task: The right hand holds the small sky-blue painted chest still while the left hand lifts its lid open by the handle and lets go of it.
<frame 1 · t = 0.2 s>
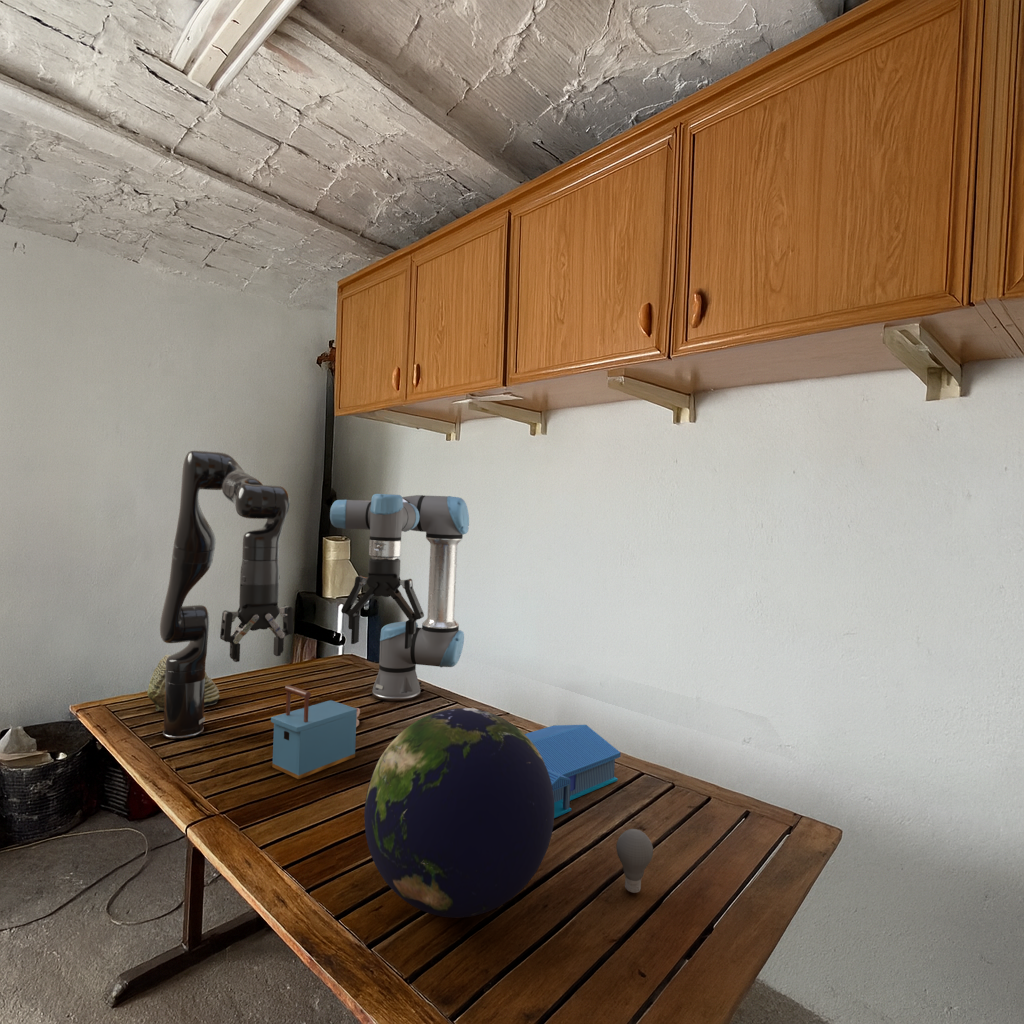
left hand: (256, 658, 132), 29 cm above the table, tool pointing down, fingers open, 8 cm apart
right hand: (381, 645, 153), 28 cm above the table, tool pointing down, fingers open, 13 cm apart
lid: (315, 700, 150), point 15 cm above the table, hinge at 0.0°
light bulb: (632, 891, 106), on the table
chest: (314, 761, 151), on the table
globe: (456, 900, 101), on the table
anatomical model: (333, 726, 174), on the table
model building: (530, 789, 141), on the table
fossil: (183, 706, 185), on the table
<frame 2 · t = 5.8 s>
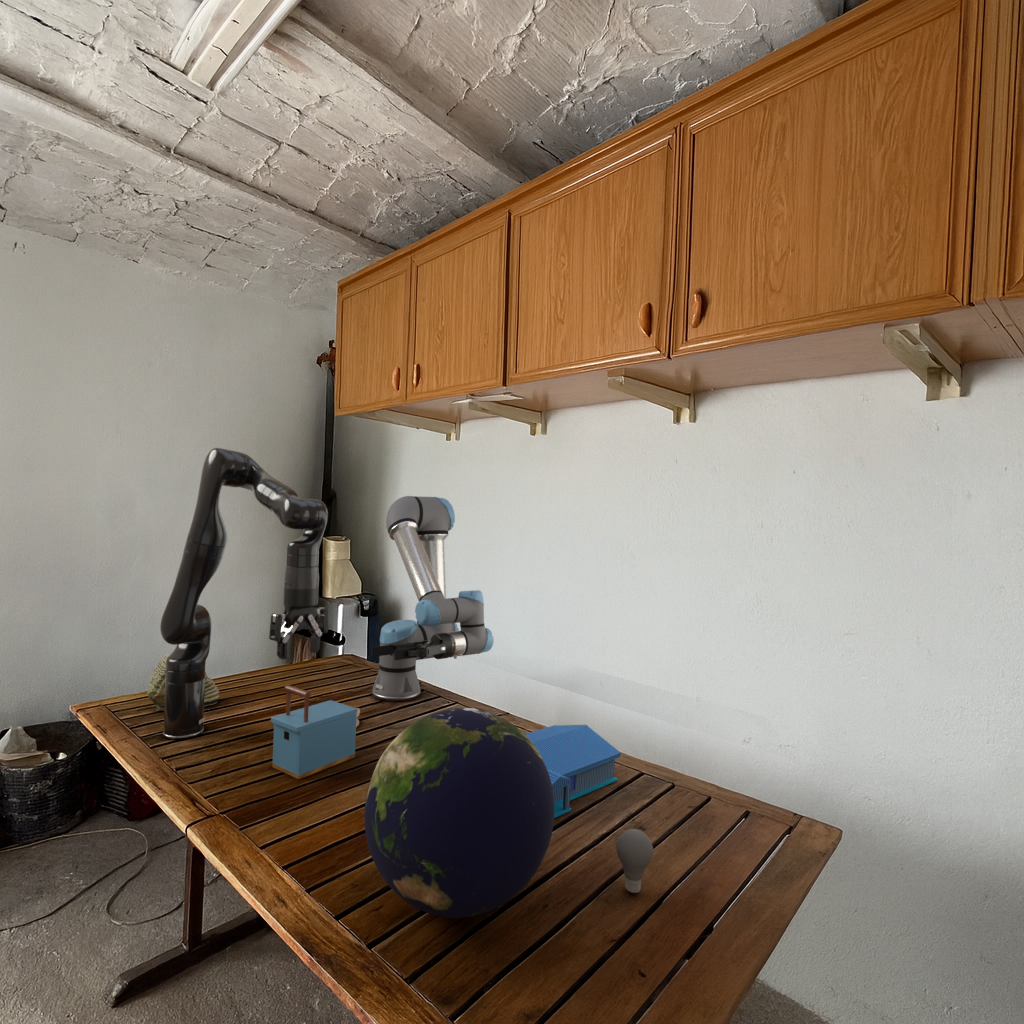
left hand: (298, 655, 146), 27 cm above the table, tool pointing down, fingers open, 8 cm apart
right hand: (382, 653, 175), 20 cm above the table, tool horizontal, fingers open, 13 cm apart
nothing on the table moved.
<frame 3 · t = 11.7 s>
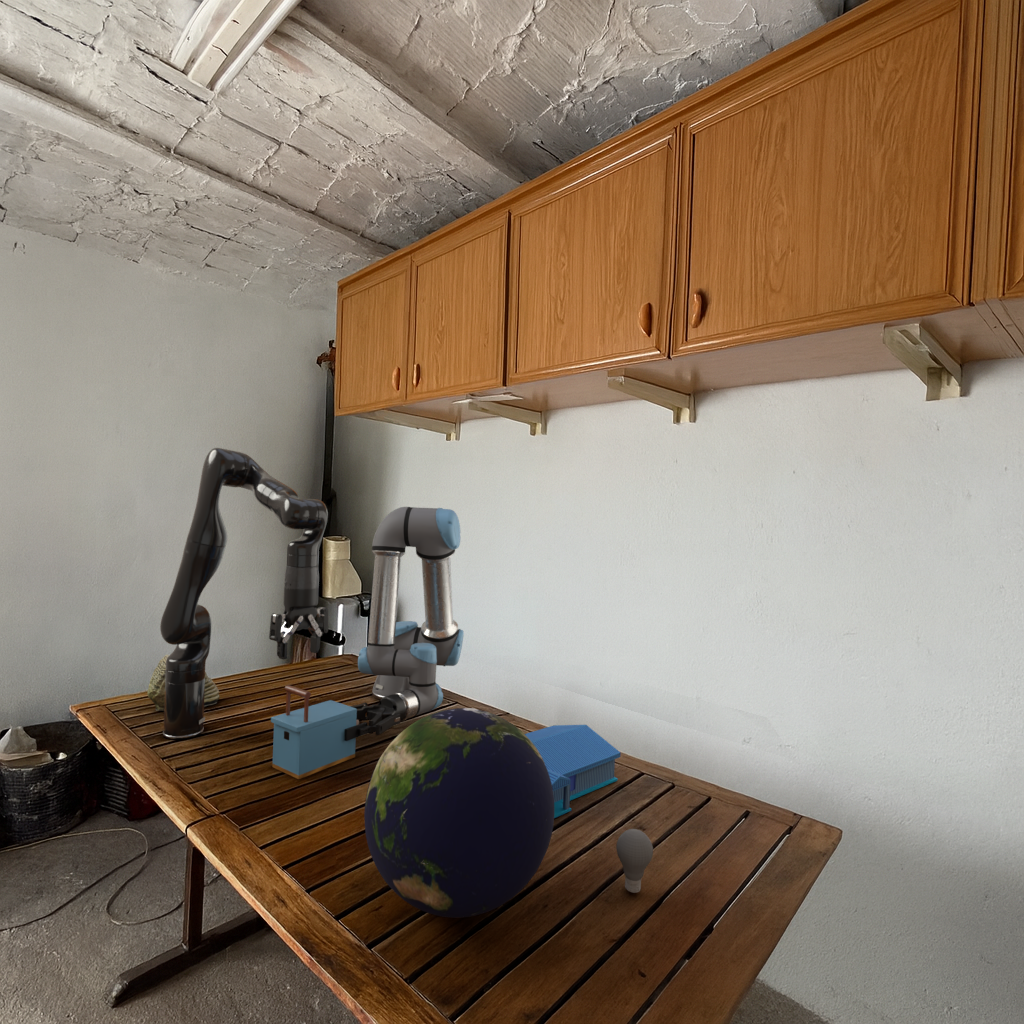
left hand: (298, 655, 146), 27 cm above the table, tool pointing down, fingers open, 8 cm apart
right hand: (331, 729, 154), 6 cm above the table, tool horizontal, fingers closed on chest, 10 cm apart
chest: (314, 761, 151), on the table, touching right hand
everything else where it was.
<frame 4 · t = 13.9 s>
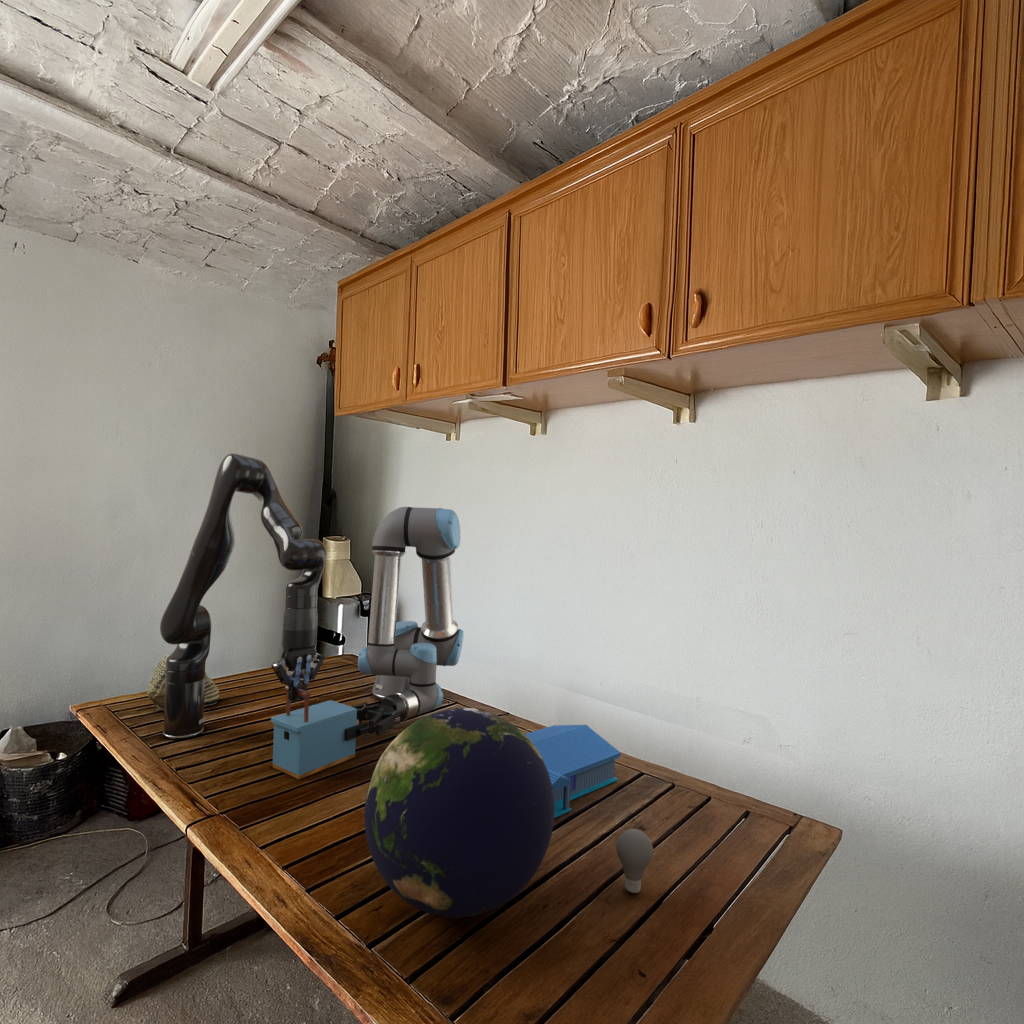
left hand: (297, 700, 146), 16 cm above the table, tool pointing down, fingers closed
right hand: (331, 729, 155), 6 cm above the table, tool horizontal, fingers closed on chest, 10 cm apart
lid: (315, 700, 150), point 15 cm above the table, hinge at -0.1°, touching left hand
chest: (314, 761, 151), on the table, touching right hand
everything else where it was.
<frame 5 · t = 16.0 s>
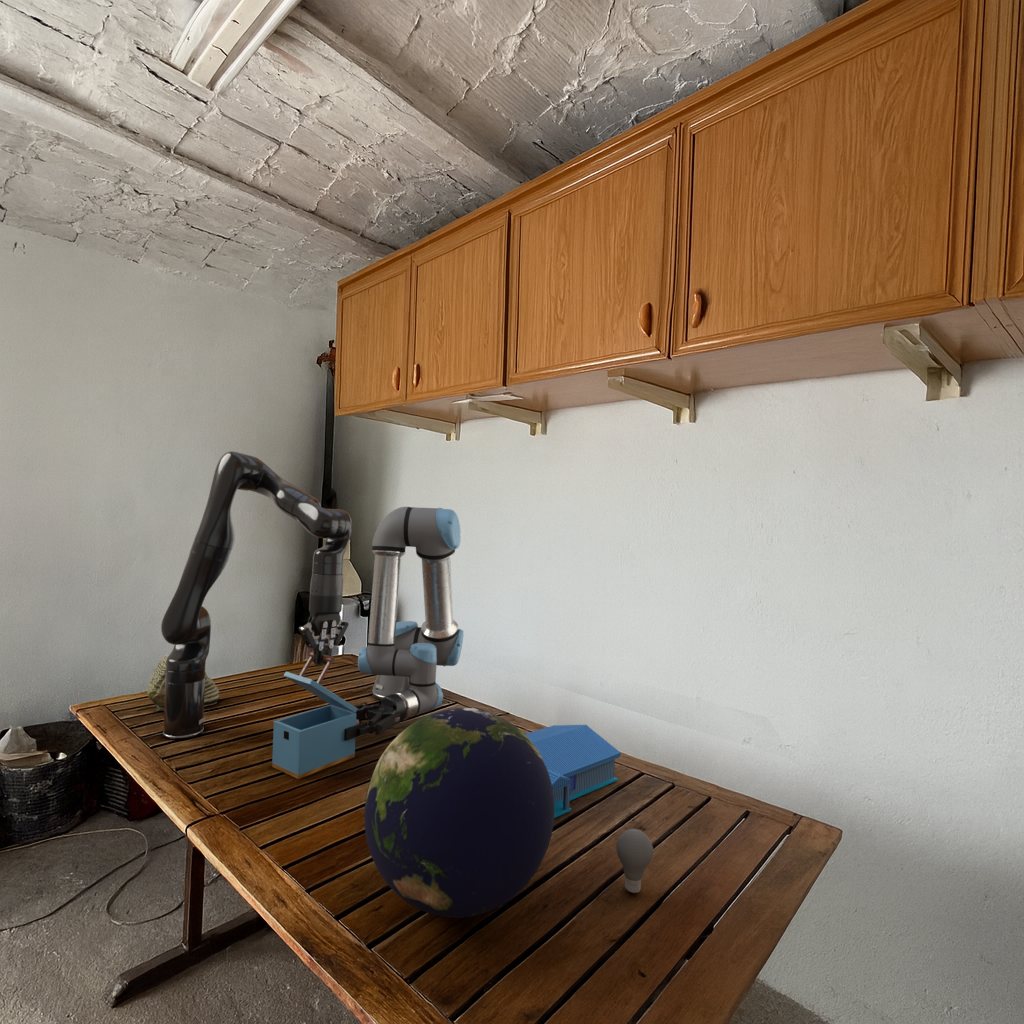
left hand: (322, 664, 151), 23 cm above the table, tool pointing down, fingers closed
right hand: (331, 729, 155), 7 cm above the table, tool horizontal, fingers closed on chest, 10 cm apart
lid: (328, 679, 153), point 19 cm above the table, hinge at 36.0°, touching left hand
chest: (314, 761, 151), on the table, touching right hand
everything else where it was.
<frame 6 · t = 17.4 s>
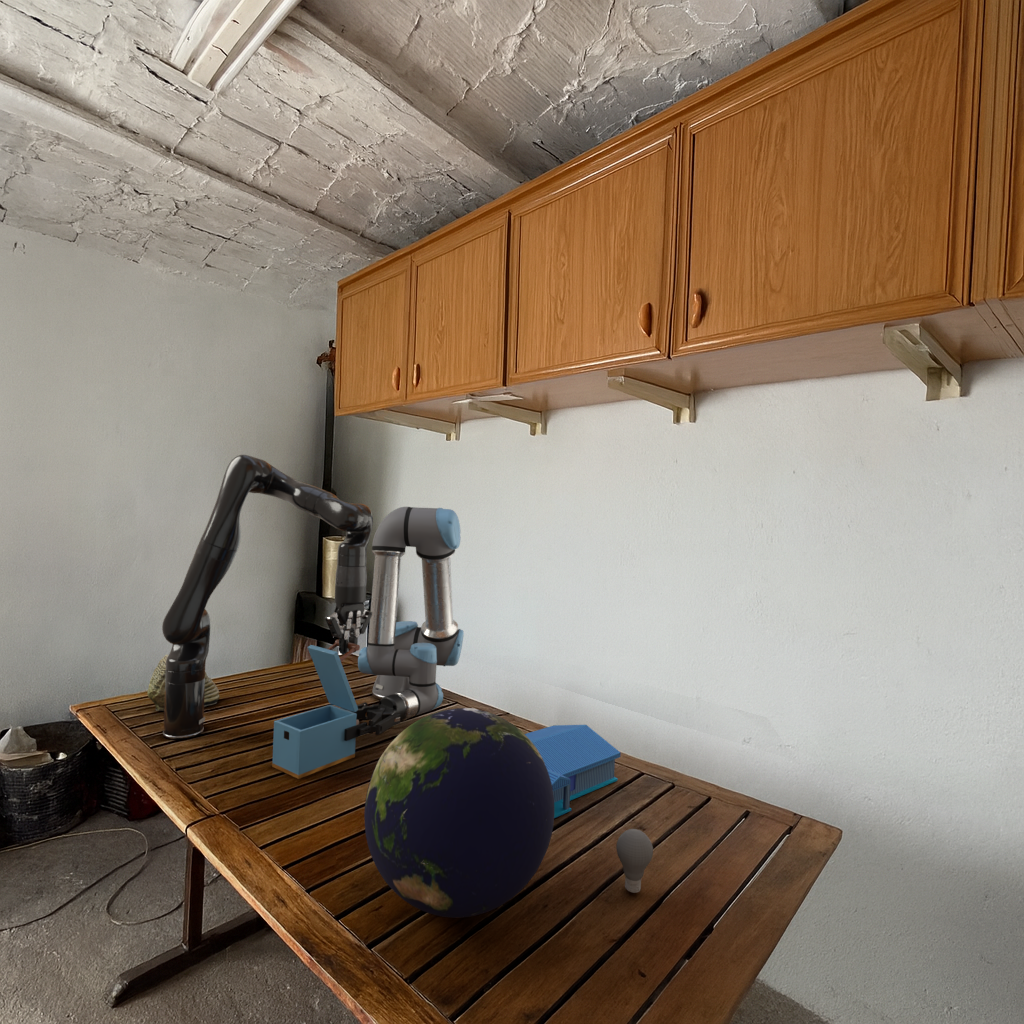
left hand: (347, 652, 158), 25 cm above the table, tool pointing down, fingers closed
right hand: (331, 729, 155), 6 cm above the table, tool horizontal, fingers closed on chest, 10 cm apart
lid: (343, 669, 157), point 21 cm above the table, hinge at 64.8°, touching left hand
chest: (314, 761, 151), on the table, touching right hand
everything else where it was.
when the right hand's fingers open (6 cm above the table, at t = 21.5 s): chest stays where it is, on the table.
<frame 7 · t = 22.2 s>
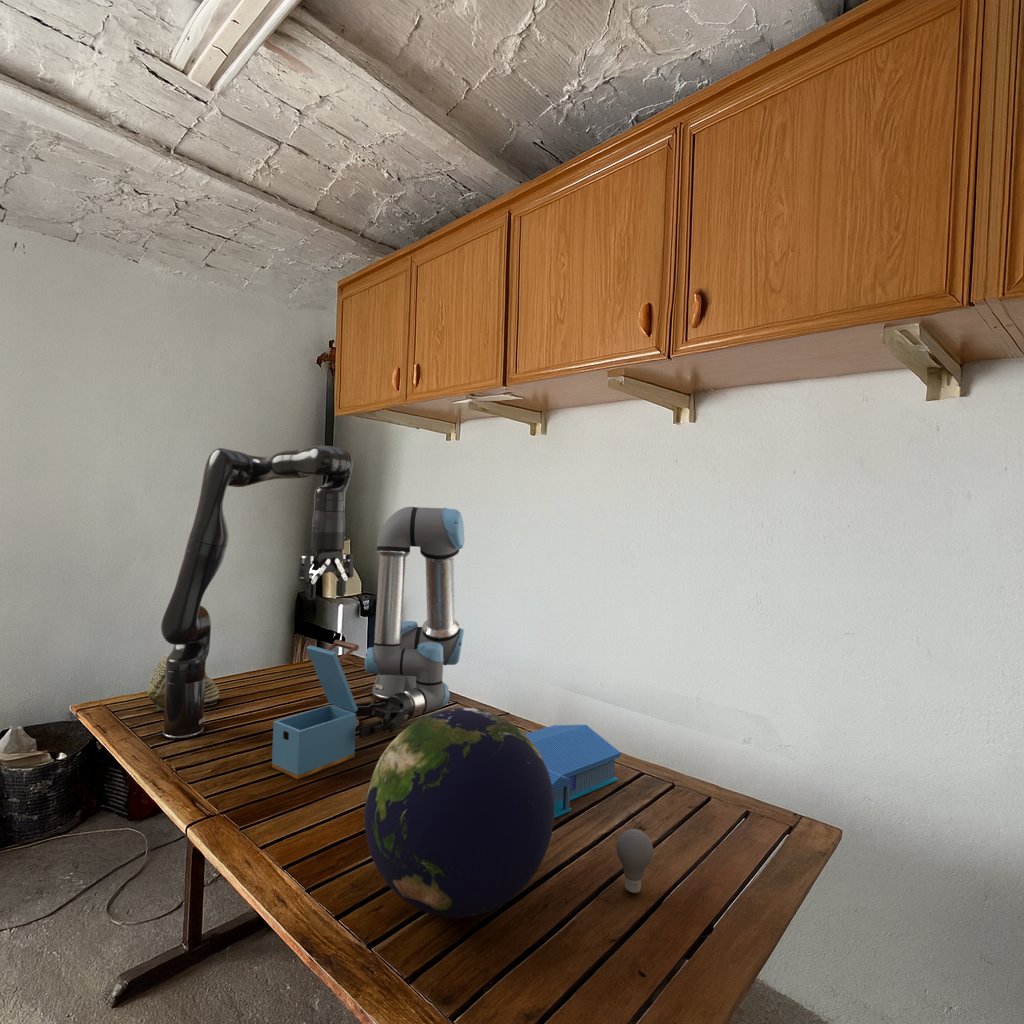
left hand: (325, 597, 151), 39 cm above the table, tool pointing down, fingers open, 8 cm apart
right hand: (341, 725, 157), 7 cm above the table, tool horizontal, fingers open, 13 cm apart
lid: (342, 670, 157), point 21 cm above the table, hinge at 64.3°
chest: (314, 761, 151), on the table
everything else where it was.
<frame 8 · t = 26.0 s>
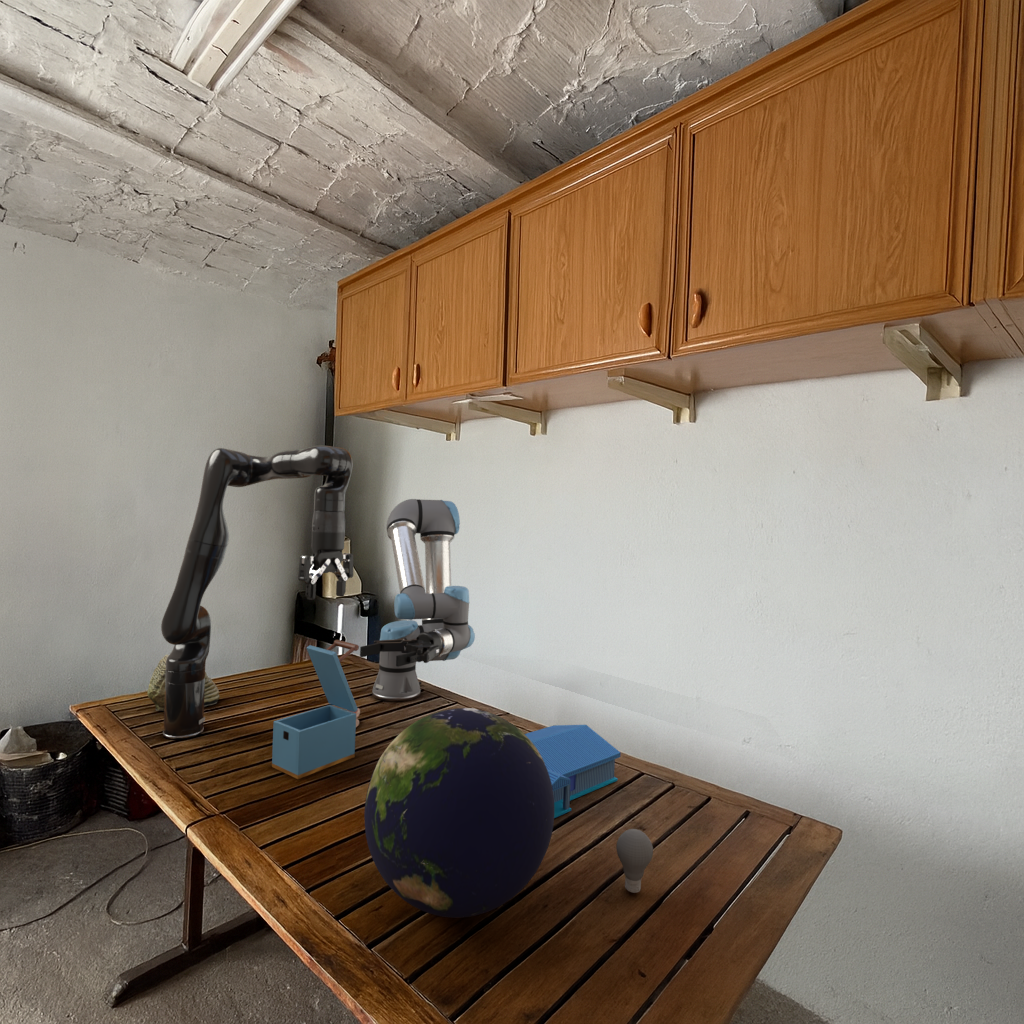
left hand: (325, 597, 151), 39 cm above the table, tool pointing down, fingers open, 8 cm apart
right hand: (378, 656, 166), 22 cm above the table, tool horizontal, fingers open, 13 cm apart
nothing on the table moved.
at the end: lid at +64° (first picture: +0°); the left hand is holding nothing; the right hand is holding nothing; chest tilted 0°; chest never tilted more than 1° during the clip; chest moved 0.1 cm from its start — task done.
